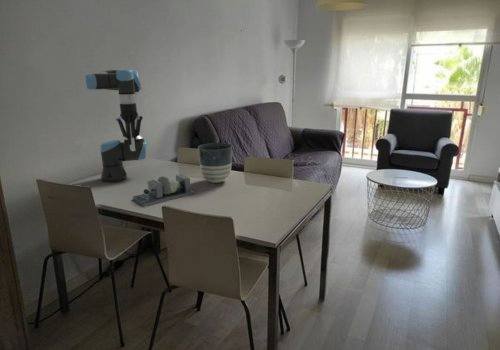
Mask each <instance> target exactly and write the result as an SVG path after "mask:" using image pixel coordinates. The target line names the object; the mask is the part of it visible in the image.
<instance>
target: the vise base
mask: <svg viewBox="0 0 500 350" xmlns="http://www.w3.org/2000/svg"><path fill="white" fill-rule="evenodd" d="M175 181H178V182H180V184H181V187H180V188H179V189H178V190H177V191H176V192H174V193H172V194H168V195H164V194H163V197H162V198H158V199H157V198H156V197H154V196H152V195H150V194H149V193H148V194H144V193H142V194H138V195H134V196H132V200H133V201H135V202H136V203H138V204H140V205H141V206H143V207H148V206H152V205H156V204H160V203H164V202H167V201H168V202H169V201H172V200H176V199H179V198H184V197H188V196H191V195H194V193H195V192H194V190H192V189H191V179H190V177H188V176H185V175H183V174H181V173H180V174H177V173H176V174H175Z"/></svg>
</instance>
